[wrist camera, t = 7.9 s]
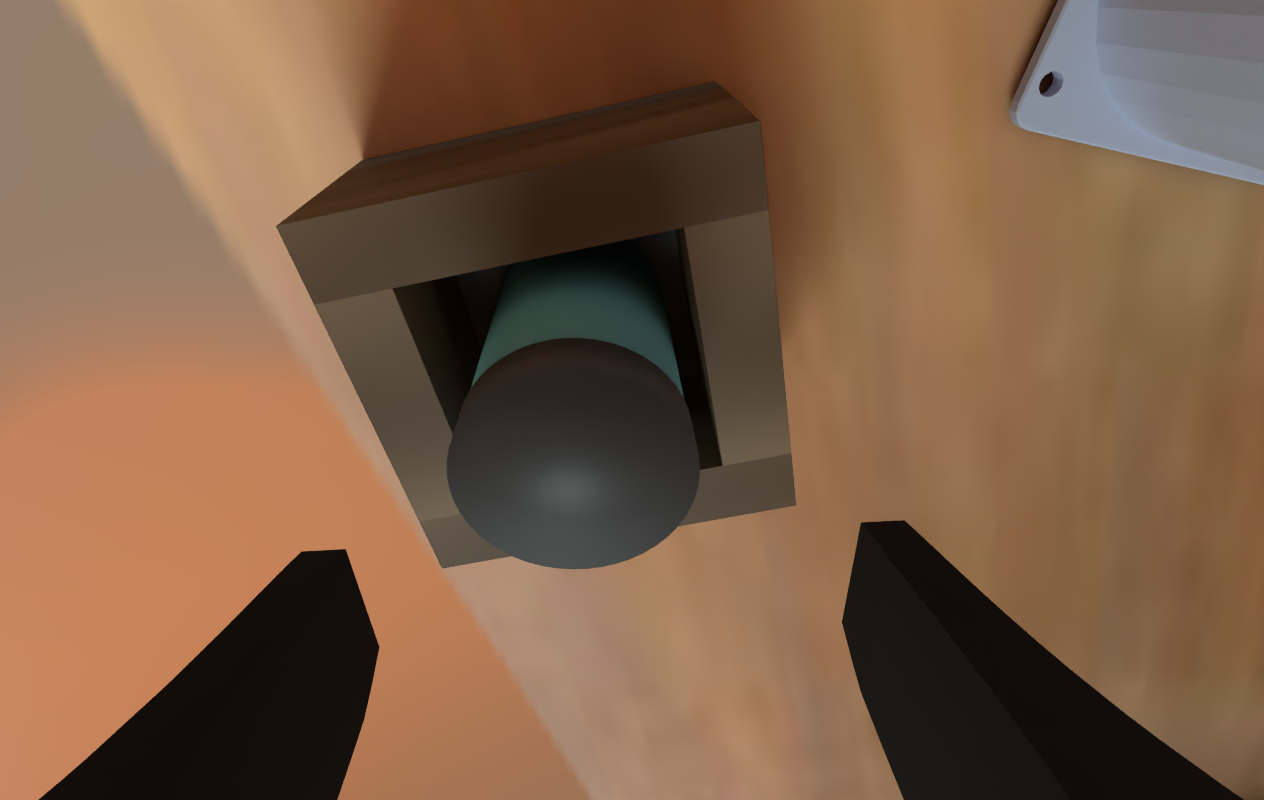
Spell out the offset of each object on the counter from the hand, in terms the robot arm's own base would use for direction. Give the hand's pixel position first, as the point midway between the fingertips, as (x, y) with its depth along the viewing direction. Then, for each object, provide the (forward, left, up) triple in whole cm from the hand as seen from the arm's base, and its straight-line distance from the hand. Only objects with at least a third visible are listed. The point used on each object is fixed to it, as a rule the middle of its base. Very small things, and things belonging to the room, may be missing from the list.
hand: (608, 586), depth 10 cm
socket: (0, -1, -10) cm, 10 cm away
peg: (0, -1, -9) cm, 9 cm away
